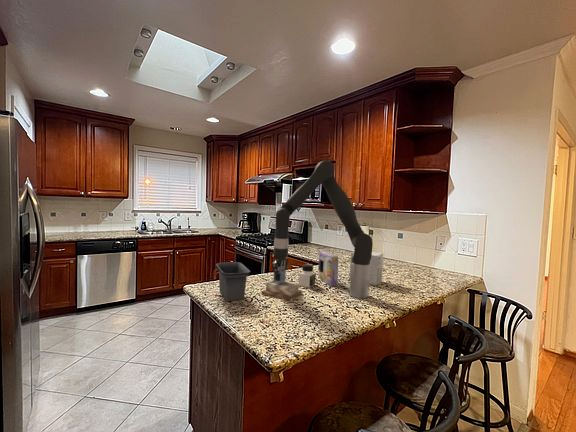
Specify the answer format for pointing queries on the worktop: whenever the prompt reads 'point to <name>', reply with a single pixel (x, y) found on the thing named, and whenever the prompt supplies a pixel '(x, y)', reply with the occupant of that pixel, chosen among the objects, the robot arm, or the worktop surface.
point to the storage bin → (232, 280)
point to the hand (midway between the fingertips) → (279, 279)
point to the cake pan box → (328, 268)
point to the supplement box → (373, 268)
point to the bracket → (281, 278)
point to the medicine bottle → (307, 276)
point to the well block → (282, 290)
